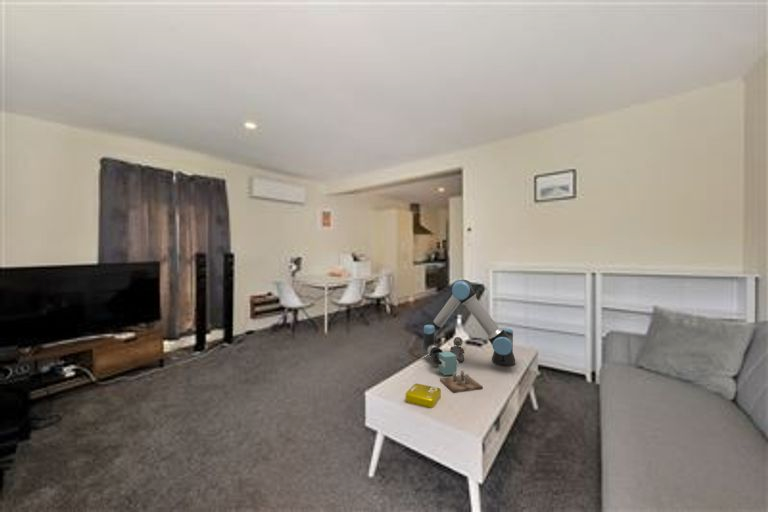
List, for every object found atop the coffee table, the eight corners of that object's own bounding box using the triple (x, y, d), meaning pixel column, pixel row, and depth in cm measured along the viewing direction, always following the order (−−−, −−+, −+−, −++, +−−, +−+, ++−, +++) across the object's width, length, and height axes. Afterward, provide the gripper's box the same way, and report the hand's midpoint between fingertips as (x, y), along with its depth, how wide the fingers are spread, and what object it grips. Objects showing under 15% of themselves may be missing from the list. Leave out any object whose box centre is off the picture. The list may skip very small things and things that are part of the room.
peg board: (467, 377, 191) (467, 366, 190) (482, 388, 175) (482, 377, 175) (440, 380, 186) (440, 369, 186) (453, 393, 170) (453, 381, 170)
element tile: (415, 390, 174) (415, 381, 174) (441, 396, 167) (441, 387, 167) (404, 402, 161) (404, 393, 161) (432, 409, 154) (432, 399, 154)
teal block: (450, 368, 201) (450, 351, 201) (456, 373, 193) (456, 355, 193) (438, 370, 199) (438, 352, 198) (444, 375, 191) (444, 357, 191)
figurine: (466, 358, 223) (466, 337, 222) (461, 363, 213) (461, 341, 212) (454, 356, 227) (454, 335, 227) (448, 361, 217) (448, 339, 217)
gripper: (449, 356, 216) (466, 368, 194) (420, 359, 210) (435, 372, 188) (449, 345, 216) (466, 356, 194) (420, 348, 210) (435, 359, 188)
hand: (451, 364), depth 191 cm, fingers closed on teal block, 8 cm apart
